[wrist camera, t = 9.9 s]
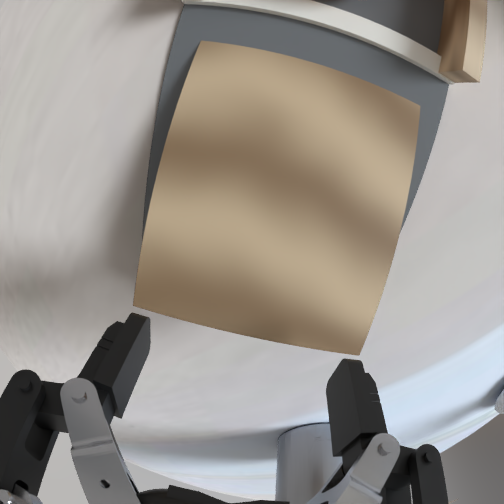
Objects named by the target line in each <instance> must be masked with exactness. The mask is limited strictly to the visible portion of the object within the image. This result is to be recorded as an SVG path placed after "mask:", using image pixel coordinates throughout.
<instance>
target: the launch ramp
mask: <svg viewBox="0 0 504 504" xmlns="http://www.w3.org/2000/svg"><path fill="white" fill-rule="evenodd" d="M419 118H420V106H419V105H418V104H416V103H414V102H412V101H410V100H408V99H406V98H404V97H401V96H399V95H397V94H395V93H393V92H391V91H389V90H386V89H384V88H382V87H379V86H377V85H375V84H372V83H370V82H367V81H365V80H362V79H360V78H357V77H355V76H352V75H349V74H346V73H344V72H341V71H338V70H335V69H332V68H329V67H326V66H323V65H320V64H316V63H313V62H309V61H306V60H302V59H299V58H295V57H291V56H287V55H283V54H279V53H275V52H270V51H266V50H261V49H256V48H250V47H245V46H239V45H233V44H226V43H218V42H210V41H201V42H200V44H199V46H198V49H197V51H196V54H195V56H194V59H193V62H192V64H191V67H190V69H189V72H188V75H187V78H186V80H185V83H184V86H183V89H182V92H181V94H180V97H179V100H178V103H177V106H176V109H175V113H174V116H173V119H172V122H171V125H170V129H169V132H168V135H167V139H166V142H165V146H164V149H163V153H162V157H161V161H160V164H159V168H158V172H157V176H156V180H155V184H154V189H153V193H152V197H151V202H150V206H149V211H148V216H147V221H146V226H145V231H144V236H143V242H142V247H141V253H140V259H139V265H138V272H137V279H136V286H135V293H134V301H133V306H136V307H139V308H142V309H146V310H149V311H152V312H156V313H159V314H163V315H166V316H170V317H173V318H177V319H180V320H184V321H188V322H192V323H195V324H199V325H203V326H207V327H211V328H215V329H219V330H223V331H228V332H232V333H236V334H241V335H245V336H250V337H254V338H259V339H264V340H269V341H274V342H279V343H284V344H289V345H295V346H300V347H306V348H312V349H318V350H324V351H330V352H337V353H344V354H351V355H360V352H361V350H362V347H363V345H364V342H365V340H366V337H367V335H368V332H369V330H370V327H371V324H372V321H373V319H374V316H375V313H376V310H377V308H378V305H379V302H380V299H381V296H382V293H383V290H384V287H385V283H386V280H387V277H388V274H389V270H390V267H391V264H392V260H393V257H394V253H395V249H396V246H397V242H398V238H399V234H400V230H401V226H402V221H403V217H404V213H405V208H406V203H407V198H408V193H409V188H410V183H411V177H412V171H413V165H414V159H415V152H416V145H417V137H418V128H419Z"/></svg>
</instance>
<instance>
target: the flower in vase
mask: <svg viewBox="0 0 504 504" xmlns="http://www.w3.org/2000/svg"><path fill="white" fill-rule="evenodd" d="M495 410H496V411H497V412H498V413H502V414H504V389H503V391H502V392H501V394H500V395H499V397H498V398H497V400H496V403H495Z"/></svg>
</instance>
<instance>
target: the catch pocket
mask: <svg viewBox="0 0 504 504" xmlns="http://www.w3.org/2000/svg"><path fill="white" fill-rule="evenodd" d="M486 23H487V0H444V10H443V19H442V26H441V33H440V40H439V46H438V51H437V54H438V55H440V56H442V57H441V62H440V67H439V72H438V73H440V74H442V75H443V76H445V77H446V78H448V79H450V80H451V81H453V82H454V83H464V82H480V77H481V71H482V65H483V57H484V48H485V38H486Z"/></svg>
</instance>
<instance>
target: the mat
mask: <svg viewBox="0 0 504 504" xmlns="http://www.w3.org/2000/svg"><path fill="white" fill-rule="evenodd" d="M181 1H182V2H183V3H184V7H183V10H182V13H181V16H180V20H179V23H178V26H177V30H176V33H175V37H174V40H173V44H172V48H171V52H170V56H169V60H168V64H167V68H166V72H165V76H164V81H163V85H162V90H161V95H160V100H159V105H158V110H157V116H156V121H155V127H154V133H153V140H152V146H151V153H150V161H149V169H148V177H147V186H146V196H145V207H144V220H143V235H142V242H143V236H144V231H145V226H146V221H147V216H148V211H149V206H150V202H151V197H152V193H153V189H154V184H155V180H156V176H157V172H158V168H159V164H160V161H161V157H162V153H163V149H164V146H165V142H166V139H167V135H168V132H169V129H170V125H171V122H172V119H173V116H174V113H175V109H176V106H177V103H178V100H179V97H180V94H181V92H182V89H183V86H184V83H185V80H186V78H187V75H188V72H189V69H190V67H191V64H192V62H193V59H194V56H195V54H196V51H197V49H198V46H199V44H200V42H201V41H210V42H218V43H226V44H233V45H239V46H245V47H250V48H256V49H261V50H266V51H270V52H275V53H279V54H283V55H287V56H291V57H295V58H299V59H302V60H306V61H309V62H313V63H316V64H320V65H323V66H326V67H329V68H332V69H335V70H338V71H341V72H344V73H346V74H349V75H352V76H355V77H357V78H360V79H362V80H365V81H367V82H370V83H372V84H375V85H377V86H379V87H382V88H384V89H386V90H389V91H391V92H393V93H395V94H397V95H399V96H401V97H404V98H406V99H408V100H410V101H412V102H414V103H416V104H418V105H419V106H420V118H419V128H418V137H417V145H416V152H415V159H414V165H413V171H412V177H411V183H410V188H409V193H408V198H407V203H406V208H405V213H404V217H403V221H402V226H401V229H402V227H403V225H404V222H405V220H406V218H407V215H408V213H409V210H410V208H411V205H412V203H413V200H414V198H415V195H416V193H417V190H418V187H419V185H420V182H421V179H422V176H423V173H424V171H425V168H426V165H427V162H428V159H429V156H430V153H431V150H432V146H433V143H434V140H435V137H436V133H437V130H438V126H439V123H440V119H441V115H442V111H443V108H444V104H445V99H446V95H447V91H448V86H449V84H455V83H454V82H453V81H451V80H450V79H448V78H446V77H445V76H443V75H442V74H440V73H438V72H439V67H440V62H441V57H442V56H440V55H438V54H437V51H438V46H439V40H440V33H441V26H442V19H443V10H444V0H181ZM400 232H401V230H400Z"/></svg>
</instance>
